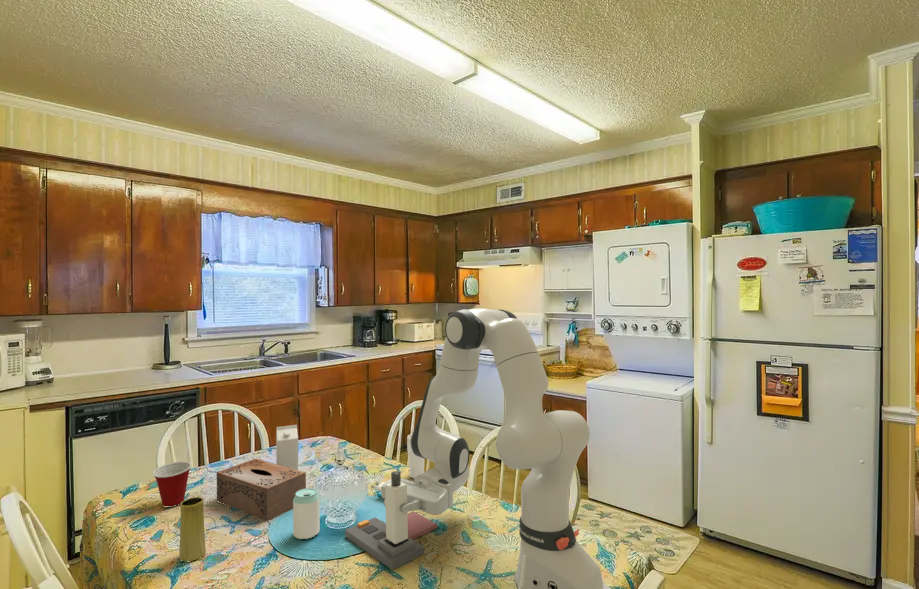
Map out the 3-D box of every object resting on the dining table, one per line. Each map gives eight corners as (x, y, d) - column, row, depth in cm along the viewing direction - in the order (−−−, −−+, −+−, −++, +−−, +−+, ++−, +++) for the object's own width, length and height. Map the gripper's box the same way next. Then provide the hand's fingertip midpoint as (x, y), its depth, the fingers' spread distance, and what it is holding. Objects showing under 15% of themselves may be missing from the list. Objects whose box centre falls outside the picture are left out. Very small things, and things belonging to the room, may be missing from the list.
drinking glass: (422, 480, 168) (422, 439, 168) (405, 479, 169) (404, 438, 169) (428, 473, 174) (427, 433, 174) (410, 472, 176) (410, 432, 176)
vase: (200, 547, 125) (199, 494, 125) (210, 555, 121) (209, 500, 121) (175, 557, 120) (174, 502, 120) (184, 565, 116) (183, 509, 116)
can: (325, 532, 132) (324, 490, 132) (305, 543, 126) (304, 499, 126) (307, 525, 136) (307, 485, 136) (287, 537, 130) (287, 494, 130)
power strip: (423, 553, 121) (423, 540, 121) (392, 570, 114) (392, 555, 114) (375, 524, 137) (375, 512, 136) (345, 536, 130) (345, 524, 130)
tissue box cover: (216, 502, 152) (216, 472, 152) (256, 486, 165) (255, 458, 165) (267, 522, 139) (267, 488, 139) (306, 502, 151) (305, 472, 151)
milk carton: (276, 475, 174) (275, 424, 174) (296, 472, 177) (295, 422, 177) (277, 482, 168) (277, 429, 168) (298, 478, 171) (297, 427, 171)
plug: (407, 538, 121) (406, 472, 121) (395, 544, 118) (394, 477, 118) (398, 532, 123) (397, 468, 123) (386, 538, 121) (385, 473, 121)
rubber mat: (437, 527, 134) (437, 524, 134) (407, 542, 126) (407, 538, 126) (413, 514, 142) (413, 511, 142) (383, 527, 134) (383, 524, 134)
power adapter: (369, 497, 154) (369, 480, 154) (377, 492, 159) (377, 474, 159) (398, 503, 150) (398, 485, 150) (406, 497, 154) (405, 479, 154)
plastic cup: (144, 510, 147) (143, 472, 147) (172, 495, 157) (172, 460, 157) (172, 513, 144) (172, 475, 144) (199, 498, 155) (199, 462, 155)
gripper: (400, 469, 137) (365, 485, 126) (456, 484, 125) (423, 504, 114) (401, 490, 137) (366, 508, 126) (457, 508, 125) (424, 529, 114)
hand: (394, 506), depth 120 cm, fingers closed on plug, 4 cm apart
